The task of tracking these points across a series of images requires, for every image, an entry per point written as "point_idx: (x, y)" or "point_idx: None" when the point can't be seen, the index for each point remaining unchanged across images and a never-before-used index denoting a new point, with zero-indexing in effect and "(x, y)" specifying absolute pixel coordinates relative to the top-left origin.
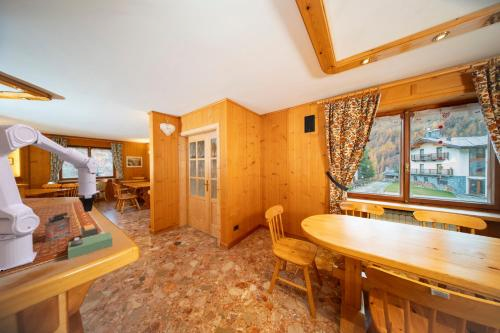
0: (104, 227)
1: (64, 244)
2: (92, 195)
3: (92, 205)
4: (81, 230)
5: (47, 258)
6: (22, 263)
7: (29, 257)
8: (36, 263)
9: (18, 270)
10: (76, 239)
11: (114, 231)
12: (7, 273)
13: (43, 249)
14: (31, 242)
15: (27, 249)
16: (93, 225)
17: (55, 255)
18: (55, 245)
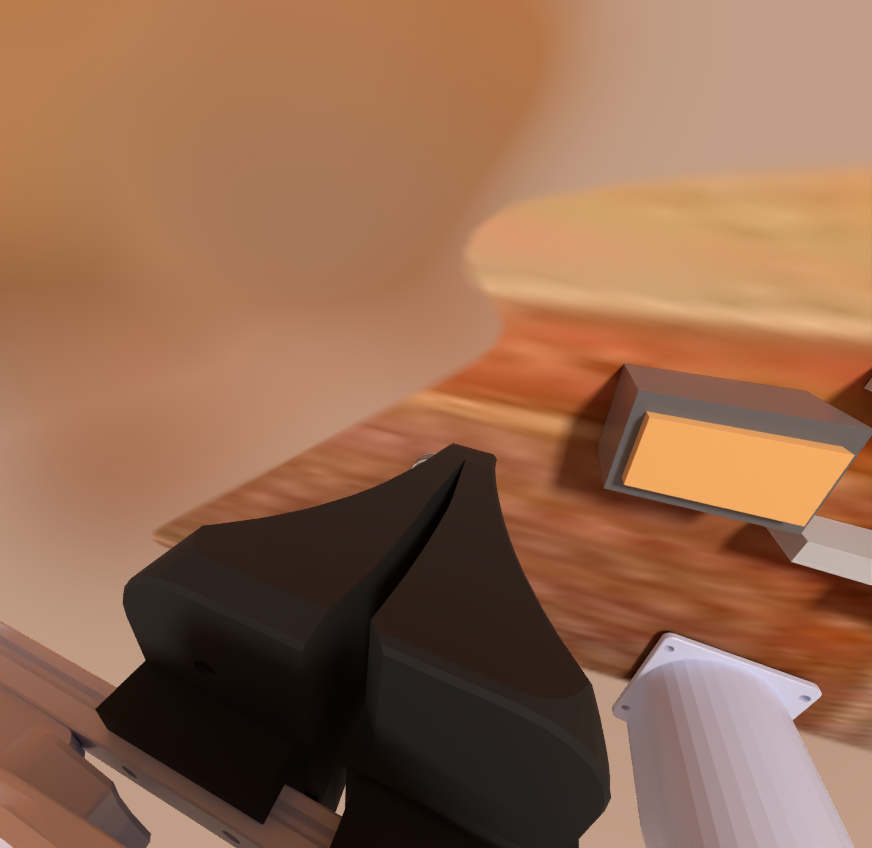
0: (530, 266)
1: (667, 541)
2: (214, 666)
3: (497, 504)
4: (675, 499)
5: (850, 649)
6: (804, 709)
7: (774, 694)
8: (862, 683)
9: (858, 722)
10: (867, 573)
11: (836, 232)
12: (834, 736)
13: (625, 598)
14: (807, 787)
15: (810, 763)
16: (732, 437)
17: (854, 625)
18: (621, 561)
